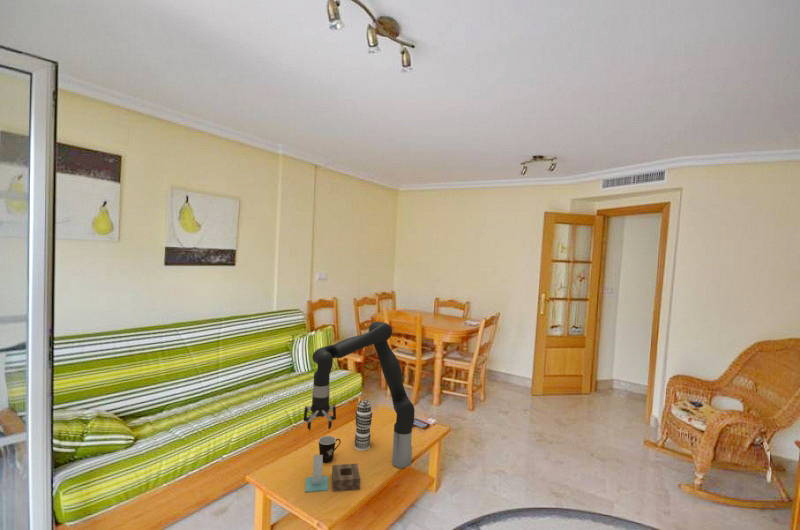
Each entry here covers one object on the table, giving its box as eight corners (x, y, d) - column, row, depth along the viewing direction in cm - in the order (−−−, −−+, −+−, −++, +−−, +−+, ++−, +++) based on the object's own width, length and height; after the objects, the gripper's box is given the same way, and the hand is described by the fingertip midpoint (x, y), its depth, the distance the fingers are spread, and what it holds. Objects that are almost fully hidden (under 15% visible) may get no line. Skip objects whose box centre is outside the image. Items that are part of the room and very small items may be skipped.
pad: (327, 476, 174) (327, 475, 174) (328, 490, 164) (328, 489, 164) (306, 478, 172) (306, 477, 172) (305, 492, 162) (305, 491, 162)
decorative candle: (362, 453, 196) (365, 407, 195) (350, 446, 202) (352, 401, 201) (374, 446, 203) (376, 402, 202) (361, 440, 209) (364, 397, 208)
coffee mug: (318, 465, 183) (319, 445, 183) (317, 455, 191) (318, 436, 191) (341, 462, 186) (342, 443, 186) (339, 453, 195) (340, 434, 194)
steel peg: (321, 480, 170) (322, 454, 170) (321, 485, 167) (322, 459, 166) (312, 480, 170) (313, 455, 169) (312, 486, 166) (313, 460, 165)
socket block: (357, 473, 178) (357, 463, 178) (359, 489, 166) (360, 478, 166) (332, 475, 175) (332, 465, 175) (332, 491, 164) (333, 480, 163)
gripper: (336, 390, 172) (335, 424, 172) (305, 391, 169) (303, 425, 169) (337, 396, 164) (335, 432, 165) (304, 397, 161) (302, 434, 162)
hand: (319, 429), depth 167 cm, fingers open, 8 cm apart
